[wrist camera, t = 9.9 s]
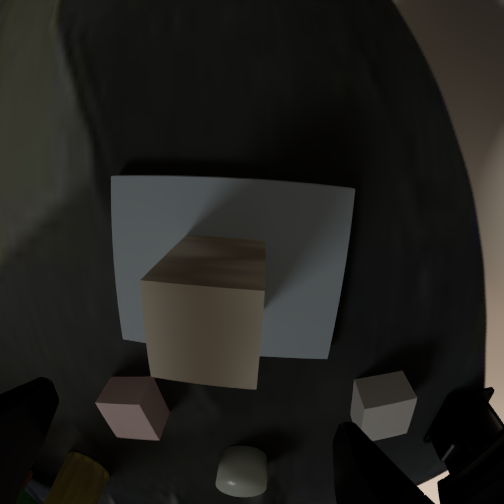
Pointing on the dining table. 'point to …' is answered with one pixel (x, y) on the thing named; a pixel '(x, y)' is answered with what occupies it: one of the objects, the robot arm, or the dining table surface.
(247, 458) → the sage cylinder
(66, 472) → the vase
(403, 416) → the off-white block
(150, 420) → the pink block
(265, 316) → the blue board
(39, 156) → the dining table surface
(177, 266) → the birch block
